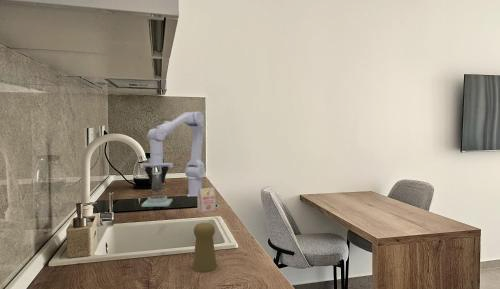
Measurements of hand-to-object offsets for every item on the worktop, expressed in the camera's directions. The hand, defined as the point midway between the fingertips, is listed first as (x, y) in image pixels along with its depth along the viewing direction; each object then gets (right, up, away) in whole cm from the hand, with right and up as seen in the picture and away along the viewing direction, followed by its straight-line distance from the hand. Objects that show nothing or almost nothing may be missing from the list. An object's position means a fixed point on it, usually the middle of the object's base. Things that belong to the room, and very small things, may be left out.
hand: (157, 182), depth 162 cm
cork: (+32, -13, -76) cm, 83 cm away
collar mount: (0, -10, 0) cm, 10 cm away
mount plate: (0, -10, 0) cm, 10 cm away
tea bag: (+25, -11, -16) cm, 32 cm away
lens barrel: (0, -3, 0) cm, 3 cm away
